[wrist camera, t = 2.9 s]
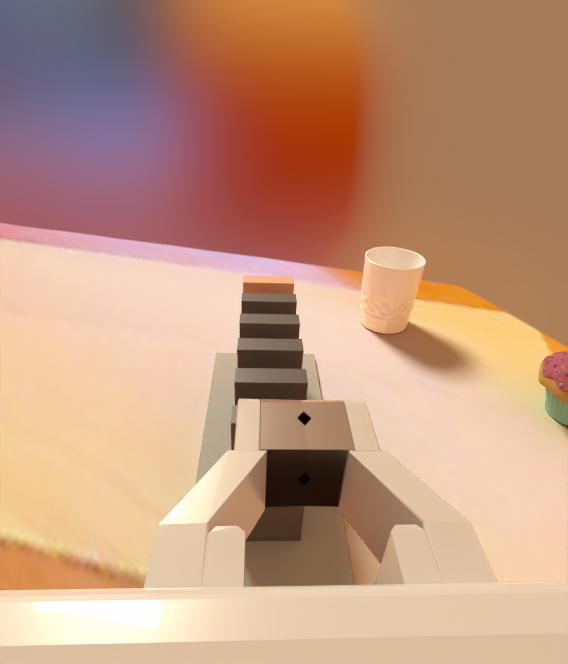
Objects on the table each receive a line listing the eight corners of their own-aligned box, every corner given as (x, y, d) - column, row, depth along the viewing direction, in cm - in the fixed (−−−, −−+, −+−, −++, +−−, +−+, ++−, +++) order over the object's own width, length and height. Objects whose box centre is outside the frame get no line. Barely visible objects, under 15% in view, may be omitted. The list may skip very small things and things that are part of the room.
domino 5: (236, 496, 35) (234, 382, 29) (237, 480, 37) (235, 368, 30) (297, 496, 36) (308, 382, 29) (295, 480, 37) (305, 368, 31)
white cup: (421, 324, 62) (437, 259, 57) (390, 343, 58) (404, 274, 52) (376, 304, 67) (387, 242, 62) (344, 320, 62) (353, 255, 57)
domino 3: (240, 428, 42) (239, 323, 36) (241, 417, 43) (240, 313, 37) (291, 428, 42) (299, 324, 36) (290, 417, 44) (298, 314, 37)
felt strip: (179, 595, 29) (178, 590, 29) (216, 356, 53) (216, 352, 53) (353, 591, 30) (354, 587, 30) (313, 358, 54) (313, 354, 53)
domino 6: (233, 541, 32) (230, 423, 26) (235, 522, 33) (232, 405, 27) (300, 540, 32) (313, 423, 26) (298, 521, 34) (311, 405, 27)
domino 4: (238, 459, 39) (237, 349, 32) (239, 446, 40) (238, 338, 34) (294, 459, 39) (303, 350, 33) (292, 446, 40) (301, 339, 34)
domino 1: (243, 378, 49) (243, 282, 42) (244, 370, 50) (243, 275, 44) (287, 379, 49) (294, 283, 43) (287, 370, 50) (293, 276, 44)
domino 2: (242, 401, 45) (241, 300, 39) (242, 392, 47) (242, 292, 40) (289, 402, 46) (296, 302, 39) (288, 392, 47) (295, 294, 41)
